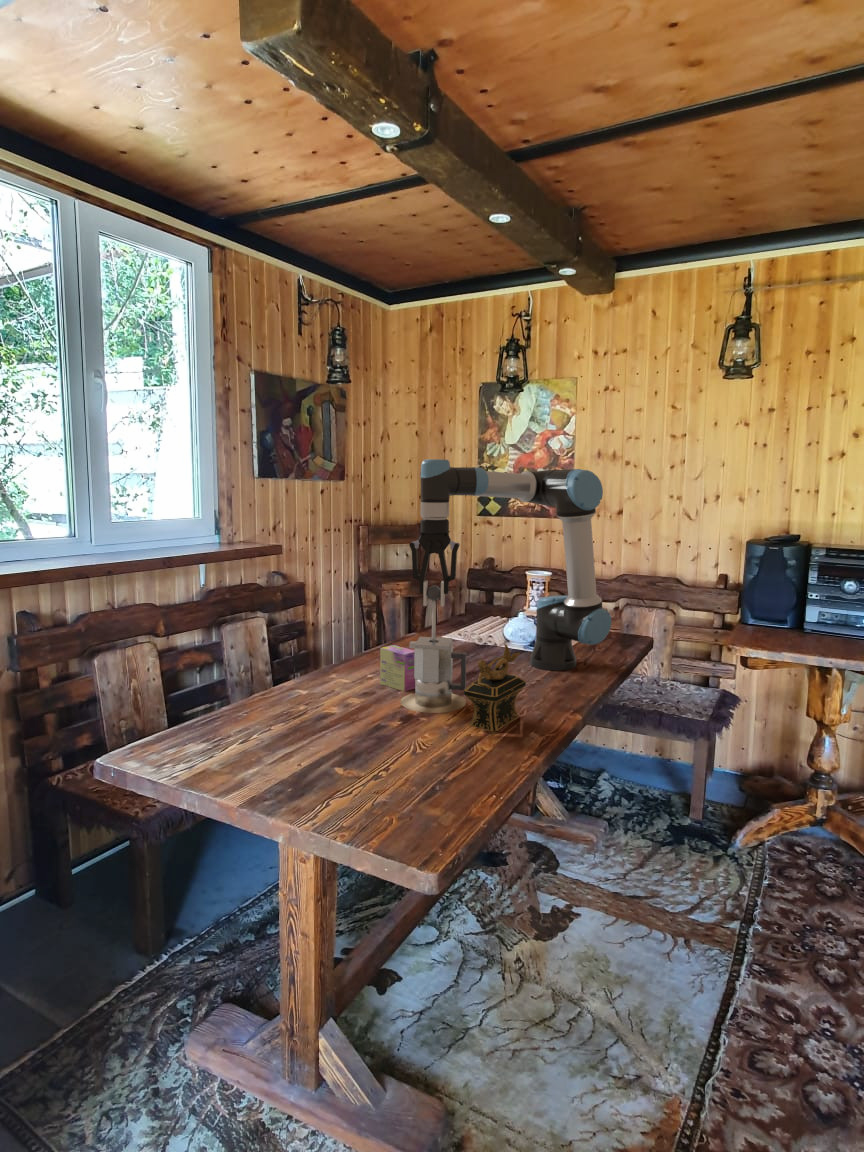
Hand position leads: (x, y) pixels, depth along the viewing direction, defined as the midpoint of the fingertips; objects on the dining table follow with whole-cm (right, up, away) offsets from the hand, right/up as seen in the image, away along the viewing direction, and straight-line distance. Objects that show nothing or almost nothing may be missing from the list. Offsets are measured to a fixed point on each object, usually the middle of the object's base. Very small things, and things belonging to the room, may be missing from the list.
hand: (434, 605), depth 188 cm
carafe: (+1, -27, +4) cm, 27 cm away
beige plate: (0, -27, +4) cm, 28 cm away
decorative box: (+16, -30, -9) cm, 35 cm away
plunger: (0, -11, +2) cm, 12 cm away
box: (-10, -25, +19) cm, 33 cm away
